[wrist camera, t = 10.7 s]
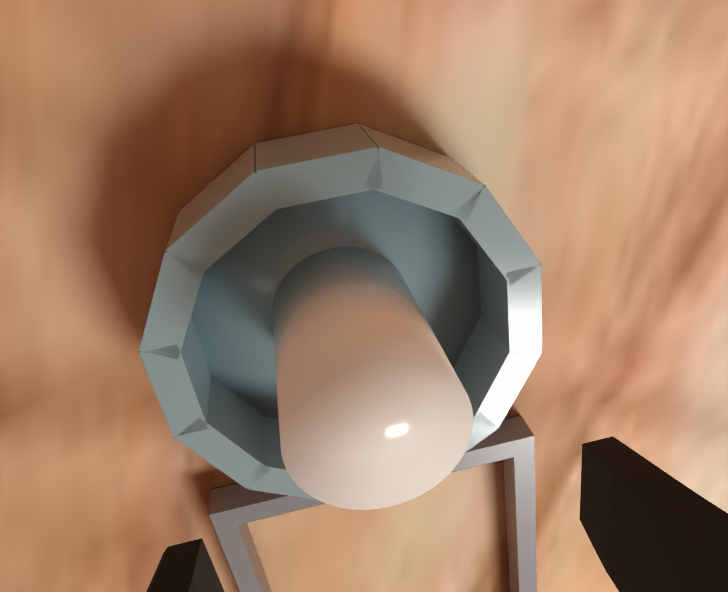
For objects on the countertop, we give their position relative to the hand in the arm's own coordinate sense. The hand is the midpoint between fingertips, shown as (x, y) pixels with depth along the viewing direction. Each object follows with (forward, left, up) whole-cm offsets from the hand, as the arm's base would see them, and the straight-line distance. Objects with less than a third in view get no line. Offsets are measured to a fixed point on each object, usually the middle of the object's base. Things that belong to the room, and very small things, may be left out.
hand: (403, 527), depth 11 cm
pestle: (0, 0, -8) cm, 8 cm away
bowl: (0, 0, -9) cm, 9 cm away
